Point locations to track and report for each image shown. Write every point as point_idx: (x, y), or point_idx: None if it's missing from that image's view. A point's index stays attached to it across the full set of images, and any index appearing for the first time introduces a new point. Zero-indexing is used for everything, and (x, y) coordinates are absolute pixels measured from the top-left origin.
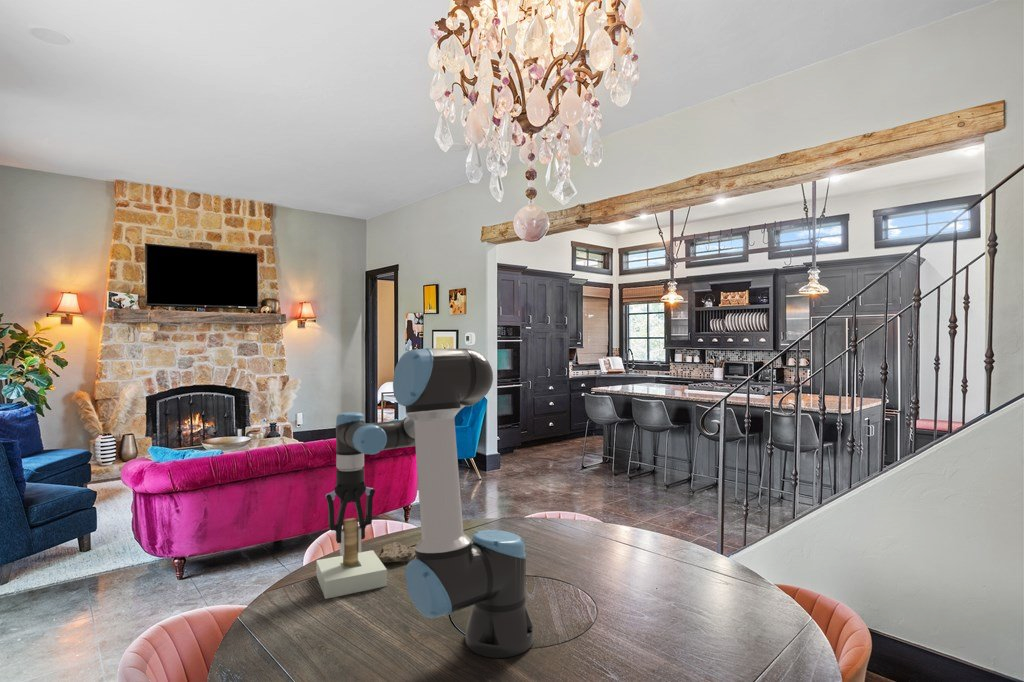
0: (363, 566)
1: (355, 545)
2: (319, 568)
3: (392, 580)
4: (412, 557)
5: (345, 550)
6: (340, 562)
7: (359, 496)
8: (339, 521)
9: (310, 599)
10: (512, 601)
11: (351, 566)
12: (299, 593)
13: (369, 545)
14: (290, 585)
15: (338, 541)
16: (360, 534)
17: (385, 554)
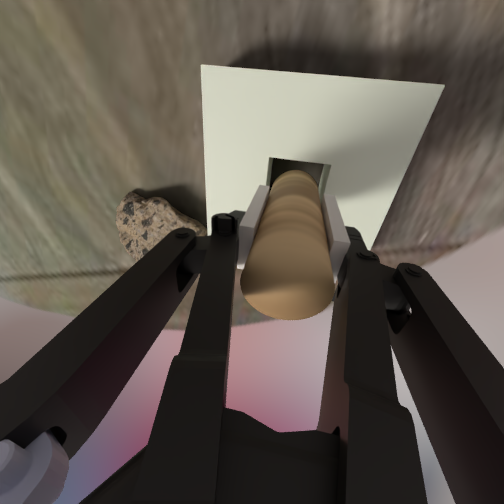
0: (265, 150)
1: (280, 194)
2: (380, 224)
3: (196, 107)
4: (125, 197)
5: (319, 202)
6: None
7: (137, 485)
8: (377, 290)
9: (450, 115)
10: None
11: None
12: (443, 181)
13: None
14: (426, 241)
15: (351, 230)
16: (249, 213)
17: None
